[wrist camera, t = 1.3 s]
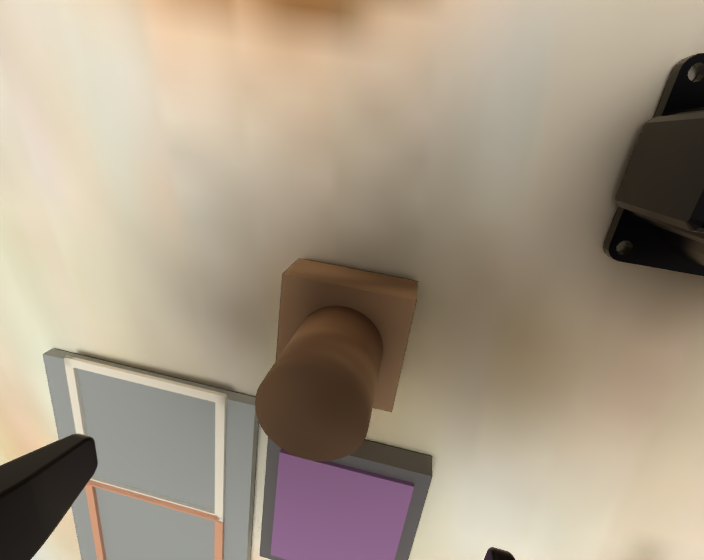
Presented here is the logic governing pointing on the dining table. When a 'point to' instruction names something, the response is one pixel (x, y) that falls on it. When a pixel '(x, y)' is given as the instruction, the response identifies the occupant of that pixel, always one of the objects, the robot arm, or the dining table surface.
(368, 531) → the ink pad
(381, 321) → the stamp
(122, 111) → the dining table surface
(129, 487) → the board
